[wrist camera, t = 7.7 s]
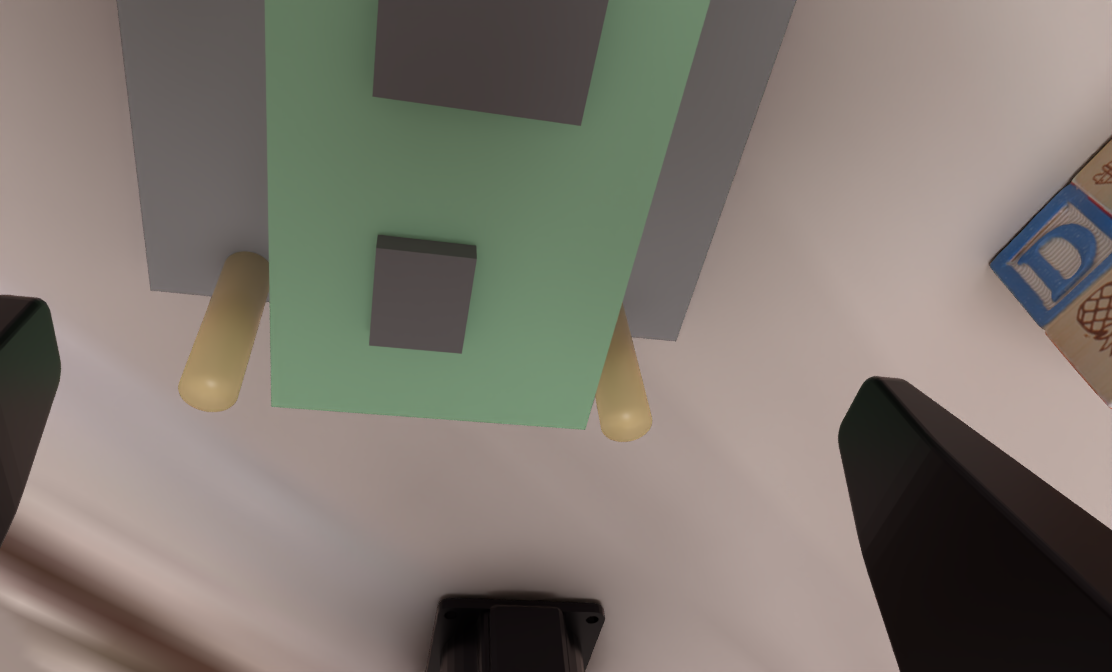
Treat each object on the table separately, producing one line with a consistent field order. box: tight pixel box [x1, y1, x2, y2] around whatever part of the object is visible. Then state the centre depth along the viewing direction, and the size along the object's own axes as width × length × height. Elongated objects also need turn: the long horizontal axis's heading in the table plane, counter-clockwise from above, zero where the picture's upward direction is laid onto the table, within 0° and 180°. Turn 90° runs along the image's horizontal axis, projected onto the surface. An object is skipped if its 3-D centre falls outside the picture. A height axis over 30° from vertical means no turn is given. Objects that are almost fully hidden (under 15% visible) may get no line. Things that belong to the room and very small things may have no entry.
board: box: [265, 0, 710, 430], centre depth 14 cm, size 12×6×4 cm, turn 169°
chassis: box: [117, 0, 796, 442], centre depth 17 cm, size 17×14×6 cm
